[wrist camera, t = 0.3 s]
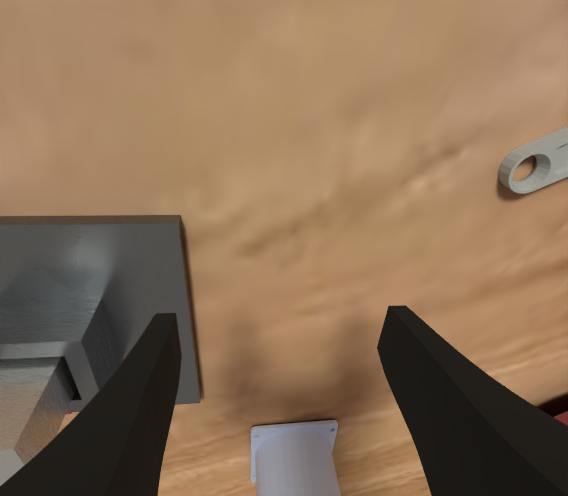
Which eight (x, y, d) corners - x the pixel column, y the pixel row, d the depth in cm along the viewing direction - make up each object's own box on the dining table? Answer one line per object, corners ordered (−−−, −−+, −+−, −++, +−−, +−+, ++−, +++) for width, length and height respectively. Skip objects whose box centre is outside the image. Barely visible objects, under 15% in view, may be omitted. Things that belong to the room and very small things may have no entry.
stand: (200, 391, 29) (195, 447, 25) (-16, 405, 27) (-56, 468, 23) (180, 215, 20) (167, 259, 17) (-138, 217, 19) (-233, 268, 15)
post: (92, 352, 24) (37, 483, 17) (42, 355, 23) (-35, 490, 17) (81, 318, 22) (14, 448, 15) (27, 320, 22) (-66, 454, 15)
